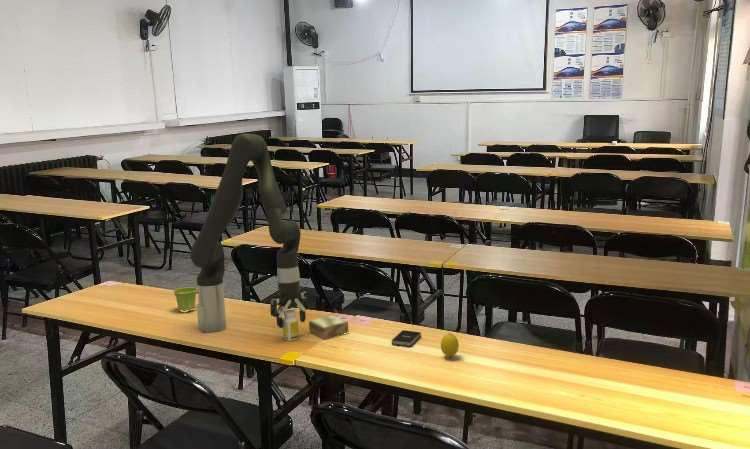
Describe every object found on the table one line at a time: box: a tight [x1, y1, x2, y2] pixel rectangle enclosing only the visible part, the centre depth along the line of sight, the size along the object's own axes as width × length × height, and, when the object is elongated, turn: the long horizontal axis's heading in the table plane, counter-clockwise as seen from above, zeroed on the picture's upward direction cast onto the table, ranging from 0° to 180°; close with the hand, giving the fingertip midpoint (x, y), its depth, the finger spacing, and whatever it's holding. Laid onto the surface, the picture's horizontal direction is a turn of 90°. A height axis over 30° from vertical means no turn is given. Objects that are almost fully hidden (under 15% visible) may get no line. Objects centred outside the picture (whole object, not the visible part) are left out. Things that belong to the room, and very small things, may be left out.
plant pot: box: [173, 286, 198, 311], centre depth 242 cm, size 9×9×9 cm
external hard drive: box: [391, 329, 422, 348], centre depth 203 cm, size 7×11×2 cm, turn 157°
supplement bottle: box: [282, 309, 300, 342], centre depth 207 cm, size 5×5×10 cm
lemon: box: [440, 332, 460, 358], centre depth 187 cm, size 6×6×8 cm
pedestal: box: [308, 315, 349, 341], centre depth 212 cm, size 10×10×4 cm
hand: (291, 324), depth 207 cm, fingers open, 8 cm apart
